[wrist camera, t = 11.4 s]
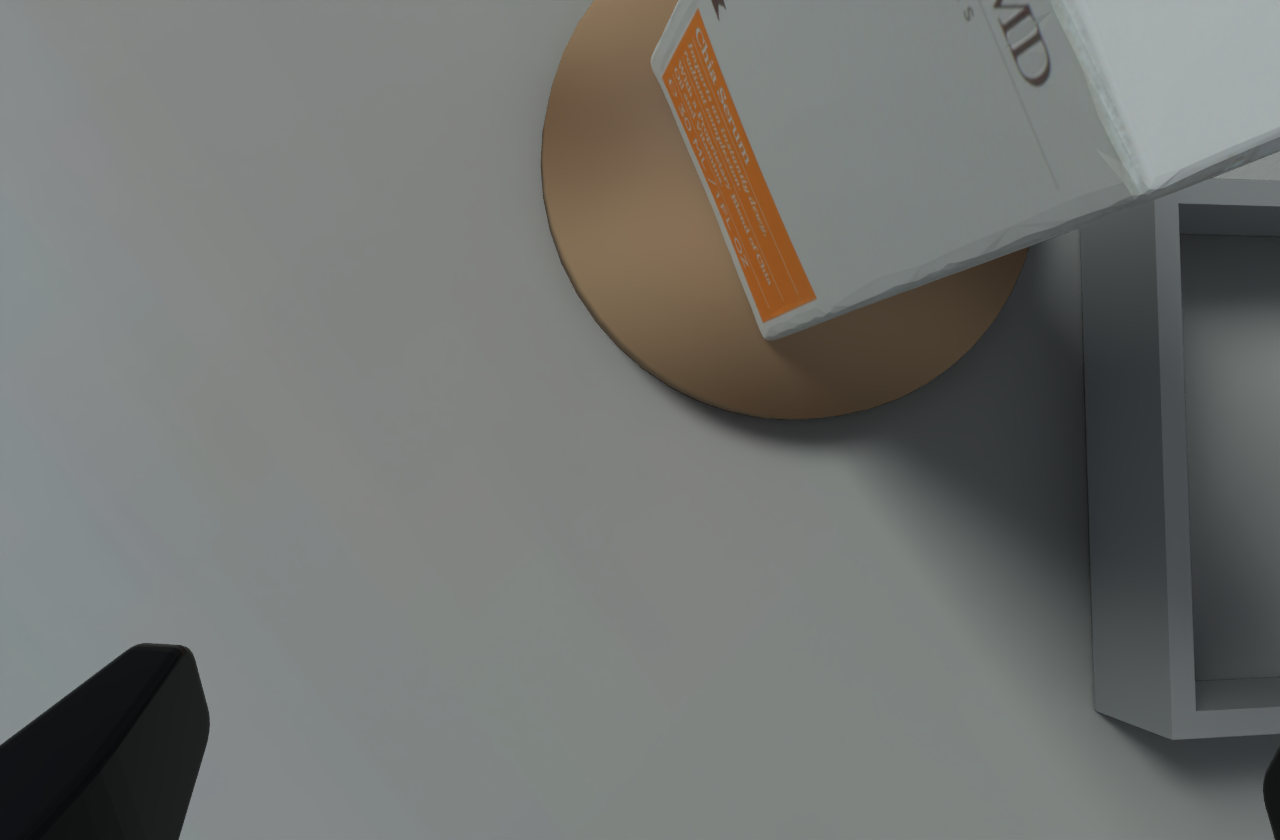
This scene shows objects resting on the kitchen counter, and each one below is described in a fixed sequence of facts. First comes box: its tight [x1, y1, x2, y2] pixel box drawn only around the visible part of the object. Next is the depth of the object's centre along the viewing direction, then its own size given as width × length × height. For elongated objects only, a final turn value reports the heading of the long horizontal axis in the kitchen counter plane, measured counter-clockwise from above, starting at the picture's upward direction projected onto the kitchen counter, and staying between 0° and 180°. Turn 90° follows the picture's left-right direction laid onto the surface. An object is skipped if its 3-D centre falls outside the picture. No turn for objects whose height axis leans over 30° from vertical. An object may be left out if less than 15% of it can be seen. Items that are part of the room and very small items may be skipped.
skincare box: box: [651, 0, 1280, 341], centre depth 15 cm, size 6×4×12 cm
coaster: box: [541, 0, 1029, 420], centre depth 22 cm, size 10×10×1 cm
